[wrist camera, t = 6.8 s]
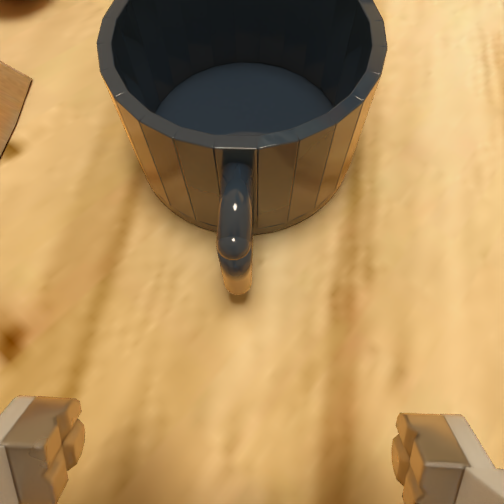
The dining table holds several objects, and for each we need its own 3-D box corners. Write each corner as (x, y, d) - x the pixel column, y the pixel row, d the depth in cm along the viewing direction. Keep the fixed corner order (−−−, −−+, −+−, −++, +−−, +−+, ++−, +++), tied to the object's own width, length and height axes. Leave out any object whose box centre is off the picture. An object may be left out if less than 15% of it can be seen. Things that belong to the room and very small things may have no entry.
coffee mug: (154, 63, 30) (120, -59, 22) (343, 66, 29) (373, -57, 22) (115, 302, 23) (47, 239, 15) (363, 308, 22) (417, 247, 15)
